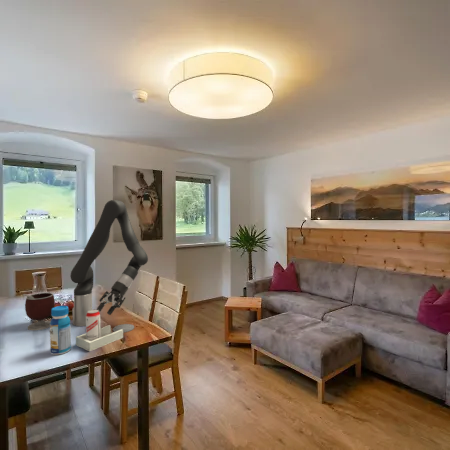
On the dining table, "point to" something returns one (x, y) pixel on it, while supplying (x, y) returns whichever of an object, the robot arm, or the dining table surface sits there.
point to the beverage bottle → (60, 331)
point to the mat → (124, 327)
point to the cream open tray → (99, 339)
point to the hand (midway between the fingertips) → (103, 312)
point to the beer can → (93, 325)
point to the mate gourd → (39, 309)
